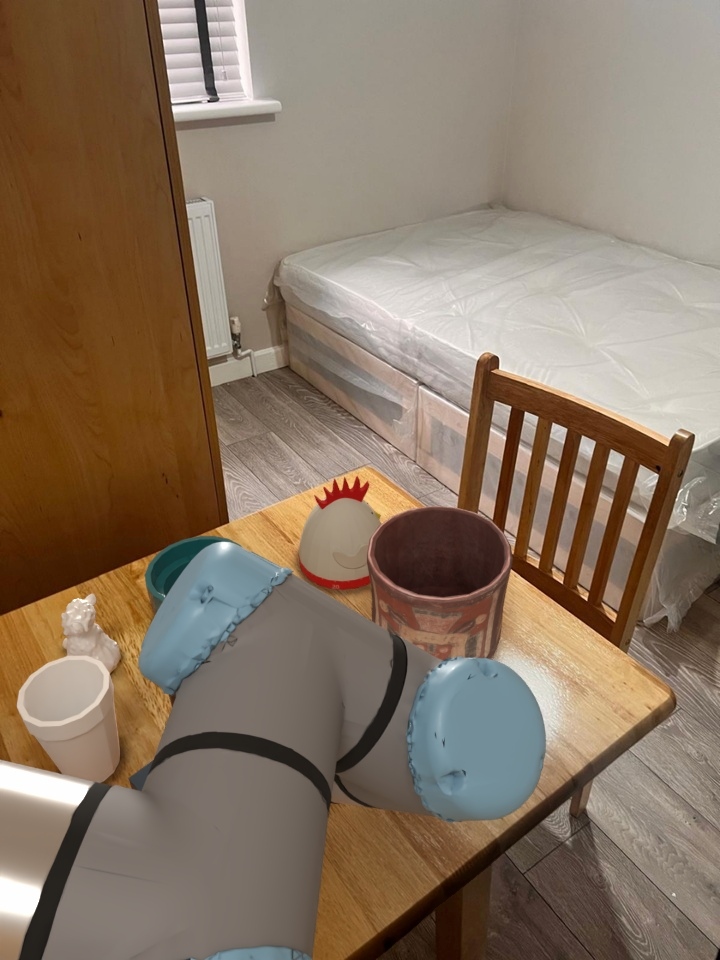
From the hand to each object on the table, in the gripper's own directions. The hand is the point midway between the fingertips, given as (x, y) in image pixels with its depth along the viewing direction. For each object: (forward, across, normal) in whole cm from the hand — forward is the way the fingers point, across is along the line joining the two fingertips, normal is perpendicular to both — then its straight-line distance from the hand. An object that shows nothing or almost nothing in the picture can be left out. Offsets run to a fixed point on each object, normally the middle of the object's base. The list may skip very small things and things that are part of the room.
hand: (231, 743), depth 64 cm
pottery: (+17, +34, -11) cm, 40 cm away
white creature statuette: (+39, +1, +11) cm, 41 cm away
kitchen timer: (+33, +39, +5) cm, 51 cm away
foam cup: (+30, -6, +2) cm, 31 cm away
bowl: (+39, +19, +11) cm, 45 cm away
